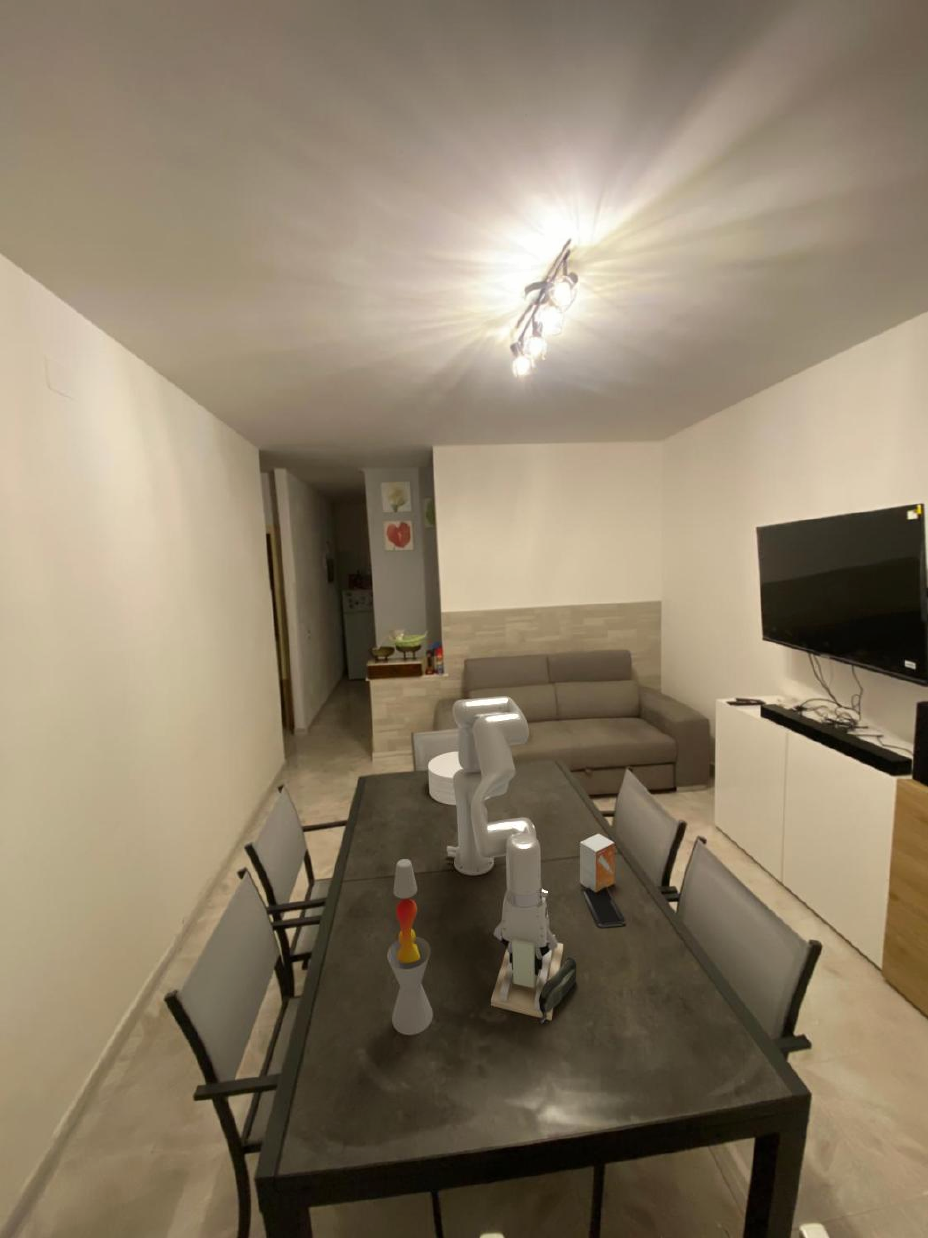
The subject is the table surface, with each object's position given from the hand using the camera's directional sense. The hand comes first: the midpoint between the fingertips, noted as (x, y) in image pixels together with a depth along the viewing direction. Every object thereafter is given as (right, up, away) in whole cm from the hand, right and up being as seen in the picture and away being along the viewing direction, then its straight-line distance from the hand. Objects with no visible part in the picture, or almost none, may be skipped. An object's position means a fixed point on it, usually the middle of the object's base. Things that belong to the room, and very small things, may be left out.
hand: (526, 967), depth 113 cm
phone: (+24, -2, +26) cm, 35 cm away
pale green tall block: (0, -2, 0) cm, 2 cm away
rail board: (+1, -5, +4) cm, 6 cm away
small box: (+25, 0, +36) cm, 44 cm away
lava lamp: (-25, -7, -5) cm, 26 cm away
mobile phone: (+6, -5, -2) cm, 9 cm away
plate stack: (-15, +6, +100) cm, 101 cm away
